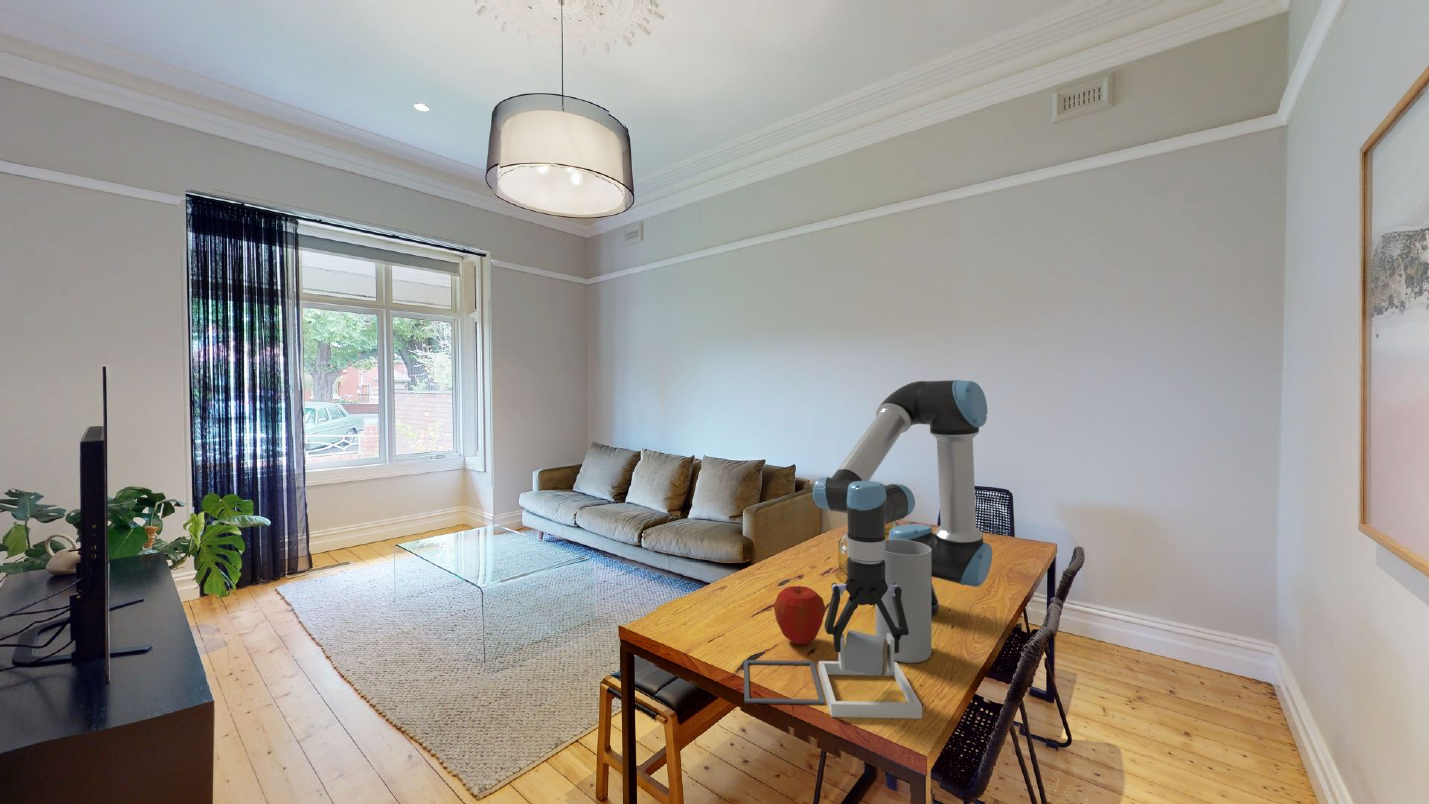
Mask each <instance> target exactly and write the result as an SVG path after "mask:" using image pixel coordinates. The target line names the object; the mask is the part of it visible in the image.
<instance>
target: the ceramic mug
mask: <svg viewBox="0 0 1429 804" xmlns="http://www.w3.org/2000/svg"><path fill="white" fill-rule="evenodd" d="M887 654H888V642H887V640H886V639H884V638H882V637H879V636H876V634H869V633H865V632H861V631H859V630H858V631H857V630H853V629H848V630H847V633H846V638H845V660H844V667H845V669H846V670H850V671H855V672H860V673H866V674H871V675H870V676H879V677H880V676H882V677H883V675H885V674H886V669H887Z"/></svg>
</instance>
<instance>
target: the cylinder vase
mask: <svg viewBox="0 0 1429 804" xmlns="http://www.w3.org/2000/svg"><path fill="white" fill-rule="evenodd" d="M885 553H886V557H885V559H883V560H884V561H885V581H886V584H890V585H893V584H894V583H896V584H898V586H899V587H900V588H901V589H902V593H901V602H902V606H903V610H904V614H905V618H906V622H907V626H908V630H909V634H908V635H902V636H901V639H900V640H899V652H898V653H894V662H897V663H898V662H900V663H905V664H918V663H923V662H925V661H927V660H929V659H930V657H931V655H932V616H931V548H930V547H929V546H927V545H925V544H923V543H919V542H915V541H909V540H897V539H892V540H889V539H885ZM881 599H882V601H883V603H884V605H885V607H886V609H887V611H888V613H889V615H890V617H891V619H892V621H893V623H894V625H895V626H896V627H899V624H898V620H897V616H896V612H895V608H894V604H893V600H892V596H891V595H890V594H889V591H887V592H886V593H885V594H884V596H883V597H882V598H881ZM887 633H891V631H890V629H889V627H888V625H887V623H886V621H885V620H884V618H883V616H882V614H881V612H880V610H879V608H878V606H877V604H875V636H879V637H882V638H884V639H886V640H887Z"/></svg>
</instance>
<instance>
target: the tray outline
mask: <svg viewBox="0 0 1429 804" xmlns="http://www.w3.org/2000/svg"><path fill="white" fill-rule="evenodd" d="M749 665H774V666H775V665H785V666H787V665H788V666H790V665H791V666H795V665H796V666H810V667H809V668H810V670H811V675H812V678H813V682H814V685H815V689H816V693H817V697H818V698H815V699H814V698H813V699H812V698H811V699H810V698H763V697H761V698H756V697H755V698H754V697H750V679H749V678H750V677H749V674H750V673H749ZM817 671H818V670H817V668H816V665H815V661H813V660H771V659H769V660H768V659H767V660H766V659H763V660H759V659H755V660H754V659H748V660H747V659H743V688H744V689H743V691H744V692H743V693H744V694H743V695H744V704H776V705H777V704H779V705H782V704H783V705H826V698H825V695H824V691H823V690H822V684H821V681H820V677H819V676H818V675H819V674H818V672H817Z"/></svg>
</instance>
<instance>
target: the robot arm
mask: <svg viewBox="0 0 1429 804" xmlns="http://www.w3.org/2000/svg"><path fill="white" fill-rule="evenodd" d="M987 415H988V403H987V399H986V395H985V392H984V391H983V389H982V387H981V386H980V384H978V383H977V382H975V381H972V380H962V379H961V380H960V379H953V380H952V379H951V380H927V381H925V380H920V381H919V380H918V381H913V382H910V383H907V384H905V385H903V386H901V387H899V388H898V389H896V390H895V391H893V392H892V393H891V394H889V395H888V396H887V397H886V398H885V399H883V401H882V403H881V404H880V405H879V406H878V407H877V409H876V412H875V418H874V419H873V420H872V422H871V424H870V425H869V426H868V428H867V429H866V430H865V432H864V433H863V435H862V436H861V437H860V439H859V440H858V441H857V442H856V444H855V445H854V446H853V449H852V450H851V451H850V452H849V454H848V455H847V457H846V458H845V459H844V460H843V462H842V464H841V465H840V466H839V467H838V469H837V470H836V472H834V474H833V476H832V477H829V476H825V477H823V476H822V477H819V478H818V479H817V480H816V481H814V482H815V483H814V485H813V487H812V500H813V501H814V504H815V505H816V507H818V508H820V509H823V510H827V511H830V512H837V513H841V514H842V513H843V514H846V515H847V519H846V520H847V534H846V535H847V540H846V541H847V543H846V544H847V551H846V552H847V553H846V554H847V557H848V558H847V559H846V562H847V565H846V576H847V577H846V580H845V583H839V584H838V583H836V582H832V583H831V584H830V585H831V598H830V602H829V606H828V608H827V609H828V611H827V614H826V619H825V621H824V629H825V630H824V631H825V633H826V634H827V635H832V636H833V648H834V649H833V650H834V651H835V653H838V661H839V666H840V669H841V670H845V667H844V660H845V645H846V638H845V635H844V634H843V633H844V631H845V630H846V627H847V625H848V624H849V621H850V619H851V618H852V617H853V614H854V612H855V610H857V608H858V607H859V606H865V605H869V606H876V604H877V606H878V608H879V610H880V612H881V614H882V616H883V618H884V620H885V621H886V623H887V625H888V627H889V629H890V631H891V633H887V642H888V654H887V666H888V667H889V669H890V671H894V662H895V660H894V653H898V652H899V640H900V639H901V636H902V635H908V634H909V630H908V626H907V622H906V618H905V614H904V610H903V606H902V602H901V593H902V589H901V588H900V587H899V586H898V584H896V583H894V584H893V585H890V584H886V581H885V561H884V560H883V559H885V557H886V553H885V540H886V525H887V524H889V523H893V522H896V521H899V520H903V519H905V517H908V516H909V515H911V514H912V512H914V509H915V506H916V498H915V495H914V493H913V492H912V490H910V488H909V487H908V486H906V485H904V484H901V483H890V484H885V485H884V484H883V483H882V482H880V481H874V480H873V481H872V480H871V479H872V477H873V476H874V475H875V473H876V471H877V470H878V468H879V467H880V466H881V464H882V462H883V461H884V460H885V458H886V456H887V455H888V454H889V452H890V451H891V450H892V448H893V446H894V444H895V443H896V442H897V440H898V439H899V437H900V435H901V434H903V433H904V434H905V433H906V432H907V431H909V429H910V428H911V427H912V426H914V425H929V433H930V434H931V435H932V436H933V437H934V438H935V439H936V449H937V451H936V452H937V470H938V471H937V472H938V476H937V477H938V492H939V493H938V495H939V497H938V499H939V516H940V519H939V520H940V526H938V528H936V529H935V530H933V528H932V526H930V525H927V524H918V523H916V524H915V523H913V524H911V523H909V524H900V525H897V526H894V527H891V528H890V530H889V533H888V540H892V539H897V540H909V541H915V542H919V543H923V544H925V545H927V546H929V547H930V548H931V617H933V616H935V615H937V614H938V613H939V610H940V609H939V606H940V605H939V599H938V596H937V593H936V591H935V588H934V584H933V578H934V579H939V580H940V579H941V580H943V581H947V582H951V583H955V584H959V585H961V586H969V587H974V588H975V587H976V588H977V587H981V585H983V584H984V583H985V581H986V579H987V578H988V575H989V573H990V570H991V567H992V562H993V548H992V545H991V544H990V543H988V542H984V533H983V532H981V530H979V529H978V528H977V519H976V518H977V515H976V513H977V512H976V488H975V466H974V465H975V461H974V459H975V458H974V438H975V437H976V436H977V435H978V434H979V433H980V427H983V426H984V425H985V424H986V422H987V419H988V416H987ZM933 531H934V533H933ZM845 591H846V592H847V593H848V594H849V596H848V598H847V599H846V600H847V601H846V603H845V606H844V607H843V609H842V610H841V614H840V615H839V616H838V619H837V620H836V617H837V614H838V610H839V606H840V602H841V596H843V595H844V593H845ZM887 591H889V594H890V595H891V596H892V600H893V604H894V608H895V612H896V616H897V620H898V624H899V627H896V626H895V625H894V623H893V621H892V619H891V617H890V615H889V613H888V611H887V609H886V607H885V605H884V603H883V601H882V599H881V598H882V597H883V596H884V594H885V593H886V592H887Z"/></svg>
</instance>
